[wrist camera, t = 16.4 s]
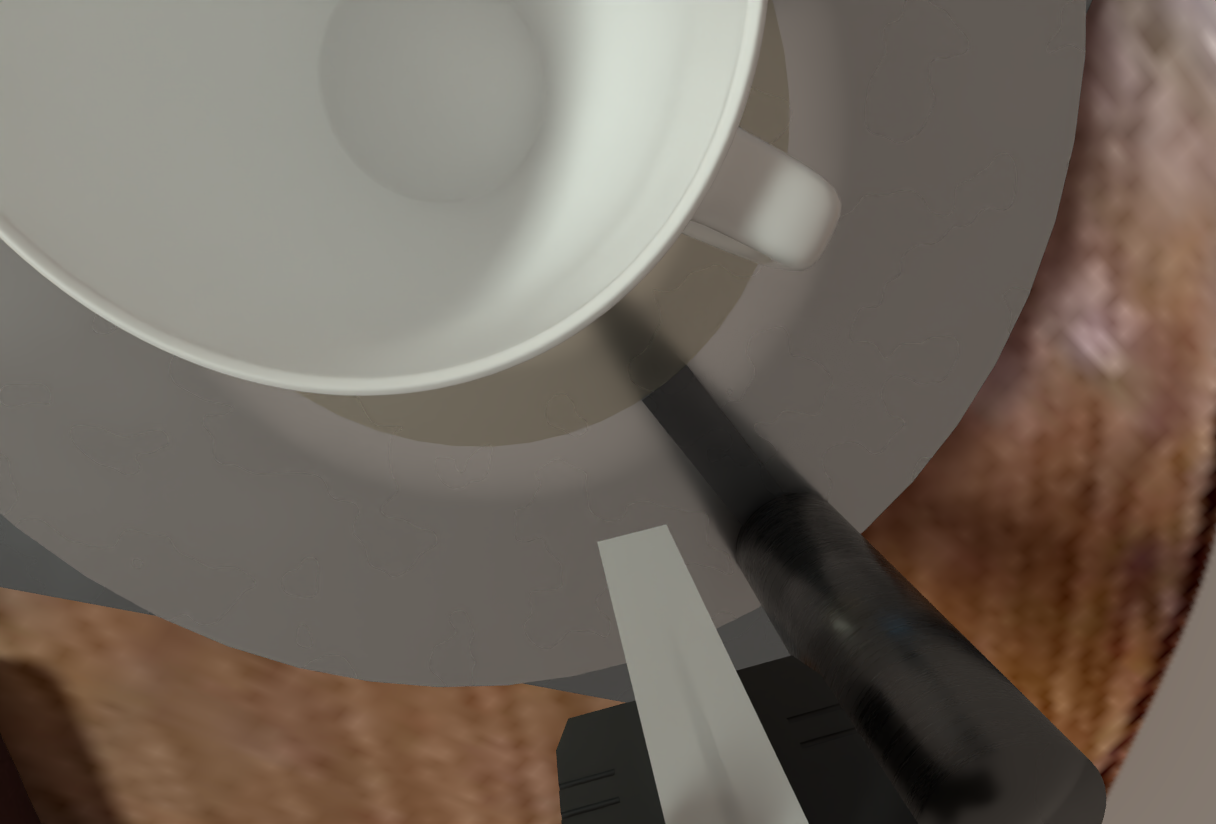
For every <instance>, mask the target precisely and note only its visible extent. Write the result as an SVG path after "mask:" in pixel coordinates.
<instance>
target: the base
mask: <svg viewBox="0 0 1216 824" xmlns="http://www.w3.org/2000/svg"><path fill="white" fill-rule="evenodd" d="M1091 2H1092V0H1086V13H1087V11H1088V9H1089V6H1090V4H1091ZM0 587H3V588H9V589H14V590H20V591H25V592H31V593H36V594H41V595H47V596H52V597H58V598H63V599H68V600H74V601H79V602H85V603H90V604H96V605H101V606H106V607H112V608H117V609H123V610H128V611H133V612H139V613H144V614H150V615H154V614H152V613H151V612H149V611H147V610H145V609H143V608H142V607H140V606H138V605H136V604H134V603H133V602H131V601H129V600H127V599H125V598H124V597H122V596H120V595H118V594H116V593H115V592H113V591H111V590H109V589H107V588H106V587H104V586H102V585H100V584H98V583H97V582H95V581H93V580H91V579H89V578H88V577H86V576H84V575H83V574H82V573H80V572H79V571H77V570H76V569H74V568H73V567H72V566H70V565H69V564H67V563H66V562H65V561H63V560H62V559H60V558H59V557H57V556H56V555H55V554H53V553H52V552H50V551H49V550H47V549H46V548H45V547H43V546H42V545H40V544H39V543H38V542H36V541H35V540H33V539H32V538H30V537H29V536H28V535H26V534H25V533H23V532H22V531H21V530H19V529H18V528H16V527H15V526H14V525H13V524H12V523H11V522H10V521H8V520H7V519H6V518H5V517H4V516H3V515H2V514H0ZM155 616H156V615H155ZM716 630H717V632H718V634H719V636H720V638H721V640H722V642H723V644H724V647H725V649H726V651H727V653H728V655H729V657H730V659H731V661H732V663H733V665H734V668H735V670H740V669H744V668H747V667H751V666H755V665H758V664H762V663H766V662H769V661H773V660H776V659H780V658H784V657H787V656H790V654H789V652H788V650H787V649H786V647H785V645H784V644H783V642H782V640H781V638H780V637H779V635H778V633H777V631H776V630H775V628H774V626H773V625H772V623H771V621H770V619H769V618H768V616H767V614H766V613H765V611H764V609H763V607H762V606H760V607H759V608H757V609H755V610H753V611H751V612H749V613H747V614H745V615H743V616H741V617H739V618H737V619H735V620H733V621H731V622H729V623H727V624H725V625H723V626H721V627H719V628H717V629H716ZM524 684H529V685H535V686H540V687H545V688H551V689H556V690H562V691H567V692H572V693H578V694H583V695H589V696H594V697H600V698H605V699H610V700H616V701H621V702H627V703H628V702H631V701H635V696H634V691H633V687H632V683H631V679H630V675H629V671H628V667H627V663H624V664H620V665H616V666H612V667H608V668H604V669H600V670H596V671H592V672H588V673H584V674H580V675H576V676H571V677H564V678H556V679H549V680H542V681H534V682H527V683H524Z"/></svg>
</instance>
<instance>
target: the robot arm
mask: <svg viewBox="0 0 1216 824" xmlns="http://www.w3.org/2000/svg"><path fill="white" fill-rule="evenodd" d="M597 543H598V547H599V551H600V555H601V559H602V564H603V568H604V572H605V576H606V580H607V584H608V588H609V592H610V597H611V601H612V605H613V609H614V613H615V617H616V621H617V625H618V630H619V634H620V638H621V642H622V646H623V650H624V654H625V658H626V663H627V667H628V671H629V675H630V679H631V683H632V687H633V691H634V696H635V701H631V702H628V703H624V704H620V705H617V706H613V707H609V708H606V709H602V710H598V711H595V712H591V713H587V714H584V715H580V716H576V717H573V718H569V719H568V721H567V724H566V726H565V729H564V732H563V734H562V737H561V739H560V742H559V745H558V747H557V750H556V754H557V768H558V781H559V788H560V791H559V794H560V808H561V815H562V820H561V821H562V824H918V823H917V821H916V819H915V818H914V816H913V815H912V813H911V812H910V810H909V809H908V807H907V806H906V804H905V803H904V801H903V800H902V798H901V797H900V795H899V793H898V792H897V790H896V789H895V787H894V786H893V784H892V783H891V781H890V780H889V778H888V777H887V775H886V774H885V772H884V770H883V769H882V767H881V766H880V764H879V763H878V761H877V760H876V758H875V757H874V755H873V754H872V752H871V751H870V749H869V748H868V746H867V744H866V743H865V741H864V740H863V738H862V737H861V735H860V734H859V733H857V731H856V729H855V726H854V725H853V723H852V721H851V720H850V718H849V717H848V715H847V714H846V712H845V711H844V709H841V706H840V703H839V702H838V700H837V699H836V697H835V695H834V694H833V692H832V691H831V689H830V688H829V686H828V685H827V683H826V682H825V680H824V679H823V677H822V676H821V675H820V674H819V673H817V672H816V671H814V670H813V669H812V668H810V667H809V666H807V665H806V664H804V663H803V662H801V661H800V660H798V659H797V658H796V657H794V656H793V655H791V656H787V657H784V658H780V659H776V660H773V661H769V662H766V663H762V664H758V665H755V666H751V667H747V668H744V669H740V670H735V668H734V665H733V663H732V661H731V659H730V657H729V655H728V653H727V651H726V649H725V647H724V644H723V642H722V640H721V638H720V636H719V634H718V632H717V630H716V628H715V626H714V623H713V621H712V619H711V617H710V615H709V613H708V611H707V609H706V607H705V605H704V602H703V600H702V598H701V596H700V594H699V592H698V590H697V588H696V586H695V584H694V581H693V579H692V577H691V575H690V573H689V571H688V569H687V567H686V565H685V563H684V560H683V558H682V556H681V554H680V552H679V550H678V548H677V546H676V544H675V542H674V539H673V537H672V535H671V533H670V531H669V529H668V527H667V525H662V526H658V527H654V528H650V529H646V530H643V531H639V532H634V533H630V534H627V535H623V536H619V537H615V538H611V539H607V540H603V541H599V542H597Z"/></svg>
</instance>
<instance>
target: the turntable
mask: <svg viewBox="0 0 1216 824" xmlns="http://www.w3.org/2000/svg"><path fill="white" fill-rule="evenodd" d="M1085 42H1086V0H768V7H767V15H766V21H765V28H764V34H763V39H762V44H761V49H760V55H759V59H758V63H757V67H756V72H755V76H754V80H753V83H752V87H751V90H750V94H749V97H748V101H747V104H746V107H745V110H744V113H743V116H742V119H741V121H740V124H739V127H741V128H742V129H744V130H745V131H747V132H748V133H750V134H752V135H754V136H756V137H758V138H759V139H761V140H763V141H765V142H767V143H769V144H771V145H773V146H774V147H776V148H778V149H780V150H782V151H784V152H785V153H787V154H789V155H791V156H792V157H794V158H796V159H797V160H799V161H801V162H802V163H804V164H805V165H807V166H809V167H810V168H812V169H813V170H815V171H816V172H818V173H819V174H820V175H821V176H823V177H824V178H825V179H826V180H828V182H829V183H830V184H831V185H832V186H833V187H834V188H835V190H836V191H837V192H838V194H839V195H840V199H841V203H842V207H841V214H840V220H839V222H838V225H837V228H836V230H835V232H834V234H833V236H832V238H831V240H830V242H829V244H828V246H827V248H826V250H825V251H824V253H823V254H822V256H821V258H820V259H819V260H818V261H817V262H816V263H815V264H814V265H813V266H812V267H810V268H808V269H806V270H804V271H801V272H787V271H781V270H777V269H773V268H770V267H767V266H764V265H761V264H758V263H755V262H752V261H749V260H746V259H744V258H741V257H738V256H736V255H733V254H731V253H728V252H725V251H723V250H720V249H718V248H715V247H713V246H711V245H708V244H706V243H703V242H701V241H698V240H696V239H694V238H691V237H689V236H686V235H684V234H682V233H681V235H680V236H679V237H678V239H677V240H676V241H675V243H674V244H673V245H672V247H671V248H670V249H669V250H668V252H667V253H666V254H665V255H664V256H663V258H662V259H661V260H660V261H659V262H658V263H657V265H656V266H655V267H654V268H653V269H652V270H651V271H650V272H649V273H648V275H647V276H646V277H645V278H644V279H643V280H642V281H641V282H640V283H639V284H638V285H637V286H636V287H635V288H634V289H633V290H631V291H630V292H629V293H628V294H627V295H626V296H625V297H624V298H623V299H622V300H621V301H619V302H618V303H617V304H616V305H615V306H613V307H612V308H611V309H610V310H609V311H607V312H606V313H605V314H604V315H602V316H601V317H600V318H598V319H597V320H596V321H594V322H593V323H592V324H590V325H589V326H587V327H586V328H584V329H583V330H581V331H580V332H578V333H577V334H575V335H574V336H572V337H571V338H569V339H567V340H566V341H564V342H562V343H561V344H559V345H557V346H555V347H554V348H552V349H550V350H548V351H546V352H544V353H542V354H540V355H538V356H536V357H534V358H532V359H530V360H528V361H526V362H523V363H521V364H519V365H516V366H514V367H512V368H509V369H507V370H504V371H501V372H498V373H496V374H493V375H490V376H487V377H484V378H480V379H477V380H474V381H470V382H466V383H463V384H459V385H455V386H450V387H445V388H440V389H435V390H429V391H423V392H415V393H407V394H396V395H382V396H344V395H329V394H318V393H309V392H301V391H295V390H289V389H283V388H278V387H273V386H268V385H263V384H259V383H255V382H251V381H247V380H243V379H240V378H236V377H233V376H229V375H226V374H223V373H220V372H217V371H214V370H211V369H208V368H205V367H202V366H200V365H197V364H195V363H192V362H189V361H187V360H184V359H182V358H180V357H177V356H175V355H173V354H170V353H168V352H166V351H164V350H161V349H159V348H157V347H155V346H153V345H151V344H149V343H147V342H145V341H143V340H141V339H139V338H137V337H135V336H134V335H132V334H130V333H128V332H126V331H124V330H122V329H121V328H119V327H117V326H116V325H114V324H112V323H111V322H109V321H107V320H106V319H104V318H102V317H101V316H99V315H98V314H96V313H94V312H93V311H91V310H90V309H88V308H87V307H85V306H84V305H82V304H81V303H79V302H78V301H76V300H75V299H74V298H72V297H71V296H69V295H68V294H67V293H65V292H64V291H62V290H61V289H60V288H58V287H57V286H56V285H54V284H53V283H52V282H51V281H49V280H48V279H47V278H45V277H44V276H43V275H42V274H40V273H39V272H38V271H37V270H36V269H34V268H33V267H32V266H31V265H30V264H28V263H27V262H26V261H25V260H24V259H23V258H21V257H20V256H19V255H18V254H17V253H16V252H15V251H14V250H13V249H11V248H10V247H9V246H8V245H7V244H6V243H5V242H4V241H3V240H2V239H1V238H0V514H2V515H3V516H4V517H5V518H6V519H7V520H8V521H10V522H11V523H12V524H13V525H14V526H15V527H16V528H18V529H19V530H21V531H22V532H23V533H25V534H26V535H28V536H29V537H30V538H32V539H33V540H35V541H36V542H38V543H39V544H40V545H42V546H43V547H45V548H46V549H47V550H49V551H50V552H52V553H53V554H55V555H56V556H57V557H59V558H60V559H62V560H63V561H65V562H66V563H67V564H69V565H70V566H72V567H73V568H74V569H76V570H77V571H79V572H80V573H82V574H83V575H84V576H86V577H88V578H89V579H91V580H93V581H95V582H97V583H98V584H100V585H102V586H104V587H106V588H107V589H109V590H111V591H113V592H115V593H116V594H118V595H120V596H122V597H124V598H125V599H127V600H129V601H131V602H133V603H134V604H136V605H138V606H140V607H142V608H143V609H145V610H147V611H149V612H151V613H152V614H154V615H156V616H158V617H160V618H163V619H165V620H167V621H170V622H172V623H174V624H177V625H179V626H182V627H184V628H186V629H189V630H191V631H193V632H196V633H198V634H200V635H203V636H205V637H207V638H210V639H212V640H215V641H217V642H219V643H222V644H224V645H226V646H229V647H232V648H236V649H239V650H242V651H245V652H249V653H252V654H255V655H259V656H262V657H265V658H268V659H272V660H275V661H278V662H282V663H285V664H288V665H291V666H295V667H298V668H303V669H308V670H313V671H318V672H324V673H329V674H334V675H339V676H344V677H350V678H355V679H360V680H365V681H372V682H384V683H397V684H409V685H421V686H433V687H457V686H495V685H512V684H519V683H527V682H534V681H542V680H549V679H556V678H564V677H571V676H576V675H580V674H584V673H588V672H592V671H596V670H600V669H604V668H608V667H612V666H616V665H620V664H624V663H626V658H625V654H624V650H623V646H622V642H621V638H620V634H619V630H618V625H617V621H616V617H615V613H614V609H613V605H612V601H611V597H610V592H609V588H608V584H607V580H606V576H605V572H604V568H603V564H602V559H601V555H600V551H599V547H598V543H597V542H599V541H603V540H607V539H611V538H615V537H619V536H623V535H627V534H630V533H634V532H639V531H643V530H646V529H650V528H654V527H658V526H662V525H667V527H668V529H669V531H670V533H671V535H672V537H673V539H674V542H675V544H676V546H677V548H678V550H679V552H680V554H681V556H682V558H683V560H684V563H685V565H686V567H687V569H688V571H689V573H690V575H691V577H692V579H693V581H694V584H695V586H696V588H697V590H698V592H699V594H700V596H701V598H702V600H703V602H704V605H705V607H706V609H707V611H708V613H709V615H710V617H711V619H712V621H713V623H714V626H715V628H716V629H717V628H719V627H721V626H723V625H725V624H727V623H729V622H731V621H733V620H735V619H737V618H739V617H741V616H743V615H745V614H747V613H749V612H751V611H753V610H755V609H757V608H759V607H760V606H762V607H763V609H764V611H765V613H766V614H767V616H768V618H769V619H770V621H771V623H772V625H773V626H774V628H775V630H776V631H777V633H778V635H779V637H780V638H781V640H782V642H783V644H784V645H785V647H786V649H787V650H788V652H789V654H790V656H791V655H793V656H794V657H796V658H797V659H798V660H800V661H801V662H803V663H804V664H806V665H807V666H809V667H810V668H812V669H813V670H814V671H816V672H817V673H819V674H820V675H821V676H822V677H823V679H824V680H825V682H826V683H827V685H828V686H829V688H830V689H831V691H832V692H833V694H834V695H835V697H836V699H837V700H838V702H839V703H840V706H841V709H844V711H845V712H846V714H847V715H848V717H849V718H850V720H851V721H852V723H853V725H854V726H855V729H856V731H857V733H859V734H860V735H861V737H862V738H863V740H864V741H865V743H866V744H867V746H868V748H869V749H870V751H871V752H872V754H873V755H874V757H875V758H876V760H877V761H878V763H879V764H880V766H881V767H882V769H883V770H884V772H885V774H886V775H887V777H888V778H889V780H890V781H891V783H892V784H893V786H894V787H895V789H896V790H897V792H898V793H899V795H900V797H901V798H902V800H903V801H904V803H905V804H906V806H907V807H908V809H909V810H910V812H911V813H912V815H913V816H914V818H915V819H916V821H917V823H918V824H1102V820H1103V817H1104V813H1105V808H1106V791H1105V785H1104V782H1103V779H1102V777H1101V775H1100V773H1099V771H1098V770H1097V768H1096V767H1095V766H1094V765H1093V763H1092V762H1091V761H1090V760H1089V759H1088V758H1087V757H1086V756H1085V755H1084V754H1083V753H1082V752H1081V751H1080V750H1079V749H1078V748H1077V747H1076V746H1075V745H1074V744H1073V743H1072V742H1071V741H1070V740H1069V739H1068V738H1067V737H1066V736H1064V735H1063V734H1062V733H1061V732H1060V731H1059V730H1058V729H1057V728H1056V727H1055V726H1054V725H1053V724H1052V723H1051V722H1050V721H1049V720H1048V719H1047V718H1046V717H1045V716H1044V715H1043V714H1042V713H1041V712H1040V711H1039V710H1038V709H1037V708H1036V707H1035V706H1034V705H1033V704H1032V703H1031V702H1030V701H1029V700H1028V699H1027V698H1026V697H1025V696H1024V695H1023V694H1022V693H1021V692H1020V691H1019V690H1018V689H1017V688H1016V687H1015V686H1014V685H1013V684H1012V683H1011V682H1010V681H1009V680H1008V679H1007V678H1006V677H1005V676H1004V675H1003V674H1002V673H1001V672H1000V671H999V670H998V669H997V668H996V667H995V666H994V665H993V664H992V663H991V662H990V661H989V660H988V659H987V658H986V657H985V656H984V655H983V654H982V653H981V652H980V651H979V650H977V649H976V648H975V647H974V646H973V645H972V644H971V643H970V642H969V641H968V640H967V639H966V638H965V637H964V636H963V635H962V634H961V633H960V632H959V631H958V630H957V629H956V628H955V627H954V626H953V625H952V624H951V623H950V622H949V621H948V620H947V619H946V618H945V617H944V616H943V615H942V614H941V613H940V612H939V611H938V610H937V609H936V608H935V607H934V606H933V605H932V604H931V603H930V602H929V601H928V600H927V599H926V598H925V597H924V596H923V595H922V594H921V593H920V592H919V591H918V590H917V589H916V588H915V587H914V586H913V585H912V584H911V583H910V582H909V581H908V580H907V579H906V578H905V577H904V576H903V575H902V574H901V573H900V572H899V571H898V570H897V569H896V568H895V567H894V566H893V565H892V564H890V563H889V562H888V561H887V560H886V559H885V558H884V557H883V556H882V555H881V554H880V553H879V552H878V551H877V550H876V549H875V548H874V547H873V546H872V545H871V544H870V543H869V542H868V541H867V540H866V539H865V538H864V537H863V536H862V535H861V533H862V532H863V531H864V530H866V529H867V528H868V527H869V526H870V525H871V523H872V522H873V521H874V520H875V519H876V518H877V517H878V516H879V515H880V514H881V513H882V512H883V511H884V510H885V509H886V508H887V507H888V506H889V505H890V504H891V503H892V502H893V501H894V500H895V499H896V498H897V497H898V496H899V495H900V494H901V493H902V492H903V491H904V490H905V489H906V488H907V487H908V486H909V485H910V484H911V483H912V482H913V481H914V480H915V478H916V477H917V476H918V474H919V473H920V472H921V471H922V469H923V468H924V467H925V466H926V464H927V463H928V462H929V461H930V459H931V458H932V457H933V456H934V454H935V453H936V452H937V450H938V449H939V448H940V447H941V445H942V444H943V443H944V442H945V440H946V439H947V438H948V437H949V435H950V434H951V433H952V431H953V430H954V429H955V428H956V426H957V425H958V423H959V422H960V420H961V419H962V417H963V415H964V414H965V412H966V411H967V409H968V407H969V406H970V404H971V403H972V401H973V399H974V398H975V396H976V395H977V393H978V391H979V390H980V388H981V387H982V385H983V384H984V382H985V380H986V379H987V377H988V376H989V374H990V372H991V371H992V369H993V368H994V366H995V364H996V362H997V360H998V358H999V356H1000V354H1001V352H1002V350H1003V348H1004V346H1005V344H1006V342H1007V340H1008V338H1009V336H1010V333H1011V331H1012V329H1013V327H1014V325H1015V323H1016V321H1017V319H1018V317H1019V315H1020V313H1021V311H1022V309H1023V307H1024V305H1025V303H1026V300H1027V298H1028V296H1029V294H1030V291H1031V288H1032V285H1033V282H1034V280H1035V277H1036V274H1037V271H1038V268H1039V266H1040V263H1041V260H1042V257H1043V254H1044V252H1045V249H1046V246H1047V243H1048V240H1049V238H1050V235H1051V232H1052V229H1053V226H1054V224H1055V220H1056V216H1057V212H1058V208H1059V204H1060V200H1061V195H1062V191H1063V187H1064V183H1065V179H1066V174H1067V170H1068V166H1069V162H1070V158H1071V154H1072V149H1073V145H1074V141H1075V133H1076V125H1077V117H1078V109H1079V101H1080V93H1081V85H1082V77H1083V69H1084V62H1085Z"/></svg>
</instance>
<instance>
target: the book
mask: <svg viewBox="0 0 1216 824" xmlns="http://www.w3.org/2000/svg"><path fill="white" fill-rule="evenodd" d="M0 824H41V823H40V821H39V818H38V816H37V814H36V812H35V810H34V808H33V806H32V804H31V802H30V800H29V797H28V795H27V793H26V790H25V788H24V785H23V783H22V780H21V778H20V776H19V773H18V771H17V769H16V767H15V765H14V762H13V760H12V758H11V756H10V754H9V752H8V750H7V748H6V746H5V743H4V741H3V739H2V736H1V734H0Z"/></svg>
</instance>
